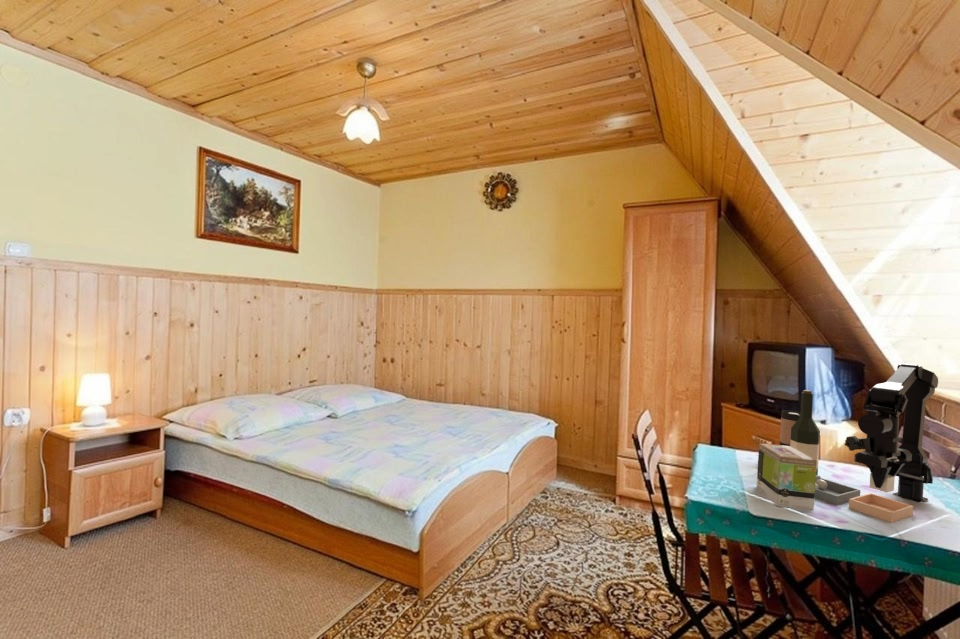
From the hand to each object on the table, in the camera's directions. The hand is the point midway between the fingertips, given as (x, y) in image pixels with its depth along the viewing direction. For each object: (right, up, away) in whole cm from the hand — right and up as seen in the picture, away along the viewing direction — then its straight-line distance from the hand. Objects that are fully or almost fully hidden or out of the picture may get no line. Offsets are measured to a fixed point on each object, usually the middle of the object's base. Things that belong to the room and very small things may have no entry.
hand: (881, 486), depth 131 cm
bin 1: (-9, -7, +16) cm, 20 cm away
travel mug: (+1, -7, +40) cm, 41 cm away
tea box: (-23, -7, +8) cm, 25 cm away
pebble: (-10, -6, +13) cm, 18 cm away
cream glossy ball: (-6, -7, +15) cm, 18 cm away
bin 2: (0, -8, 0) cm, 8 cm away
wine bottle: (-3, -7, +28) cm, 29 cm away
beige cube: (0, -1, 0) cm, 1 cm away
